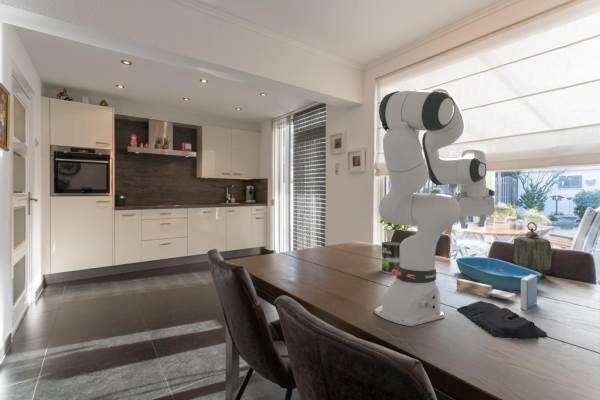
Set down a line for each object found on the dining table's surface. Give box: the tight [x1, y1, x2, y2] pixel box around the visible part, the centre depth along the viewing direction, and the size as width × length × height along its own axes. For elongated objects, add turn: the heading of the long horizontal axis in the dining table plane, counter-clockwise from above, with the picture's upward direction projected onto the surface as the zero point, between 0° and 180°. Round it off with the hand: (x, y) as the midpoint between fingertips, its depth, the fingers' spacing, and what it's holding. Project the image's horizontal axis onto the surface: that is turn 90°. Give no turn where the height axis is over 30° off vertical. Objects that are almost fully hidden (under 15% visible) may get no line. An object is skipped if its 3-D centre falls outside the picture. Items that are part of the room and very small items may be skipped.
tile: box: [520, 274, 538, 311], centre depth 106 cm, size 2×10×10 cm, turn 127°
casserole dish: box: [455, 256, 542, 291], centre depth 137 cm, size 37×22×7 cm, turn 5°
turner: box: [456, 278, 516, 300], centre depth 117 cm, size 19×6×4 cm, turn 38°
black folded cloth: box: [456, 300, 548, 340], centre depth 93 cm, size 15×22×5 cm
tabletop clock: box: [512, 221, 552, 279], centre depth 145 cm, size 14×9×25 cm, turn 171°
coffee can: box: [381, 241, 401, 275], centre depth 152 cm, size 10×10×14 cm
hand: (472, 227), depth 120 cm, fingers open, 8 cm apart
